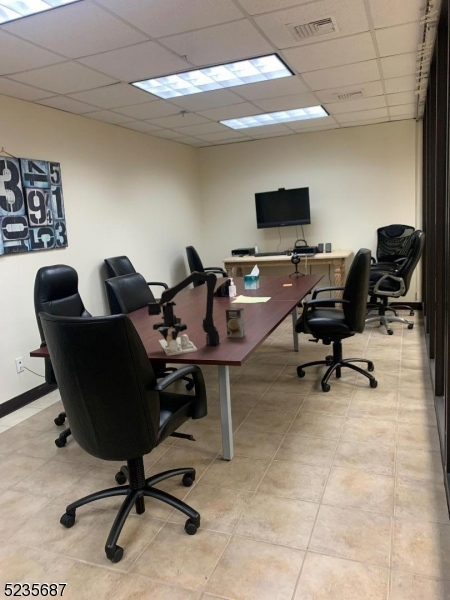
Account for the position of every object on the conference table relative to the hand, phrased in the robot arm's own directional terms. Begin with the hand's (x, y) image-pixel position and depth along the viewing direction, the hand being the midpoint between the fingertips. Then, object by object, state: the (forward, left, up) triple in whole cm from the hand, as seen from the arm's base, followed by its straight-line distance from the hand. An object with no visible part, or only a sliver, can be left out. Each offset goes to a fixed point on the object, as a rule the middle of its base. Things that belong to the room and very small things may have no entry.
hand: (171, 342), depth 240 cm
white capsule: (-6, +5, -3) cm, 8 cm away
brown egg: (0, 0, -2) cm, 2 cm away
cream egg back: (-5, -6, -3) cm, 8 cm away
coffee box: (-19, -34, -4) cm, 40 cm away
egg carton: (+1, -6, -4) cm, 7 cm away
